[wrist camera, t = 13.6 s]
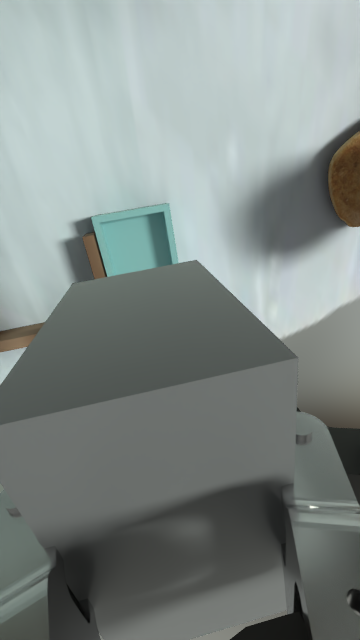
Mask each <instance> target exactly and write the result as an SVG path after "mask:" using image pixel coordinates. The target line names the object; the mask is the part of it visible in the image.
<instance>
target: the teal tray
mask: <svg viewBox="0 0 360 640" xmlns="http://www.w3.org/2000/svg"><path fill="white" fill-rule="evenodd" d="M91 219H92V223H93V226H94V230H95V233H96V237H97V241H98V244H99V248H100V252H101V255H102V259H103V263H104V266H105V270H106V274H107V277H109V276H115V275H120V274H125V273H130V272H136V271H141V270H146V269H151V268H157V267H162V266H167V265H172V264H178V257H177V251H176V244H175V238H174V232H173V225H172V219H171V213H170V207H169V204H168V203H165V204H159V205H153V206H147V207H142V208H136V209H130V210H124V211H119V212H113V213H107V214H101V215H96V216H93V217H91Z"/></svg>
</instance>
